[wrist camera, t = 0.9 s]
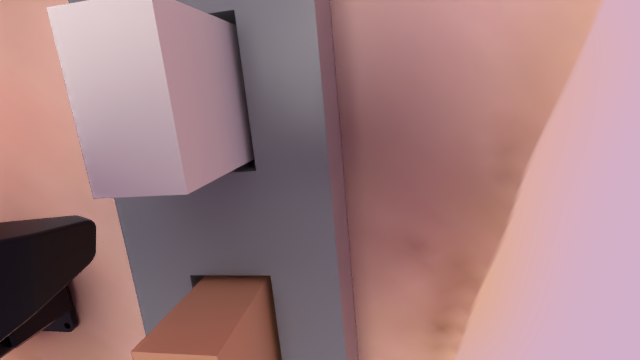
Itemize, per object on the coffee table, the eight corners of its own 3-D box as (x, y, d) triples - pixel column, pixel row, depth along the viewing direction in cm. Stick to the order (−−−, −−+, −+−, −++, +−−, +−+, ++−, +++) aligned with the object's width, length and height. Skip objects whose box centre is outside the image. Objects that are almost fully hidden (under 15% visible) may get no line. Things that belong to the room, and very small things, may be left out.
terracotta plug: (240, 340, 23) (161, 477, 15) (226, 253, 22) (131, 351, 14) (294, 342, 22) (241, 486, 14) (282, 252, 21) (217, 356, 13)
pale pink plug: (210, 154, 20) (93, 198, 12) (192, 41, 19) (46, 7, 11) (269, 150, 20) (187, 194, 12) (255, 32, 18) (150, -11, 10)
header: (203, 365, 26) (165, 421, 21) (130, -6, 20) (61, -31, 16) (359, 374, 23) (353, 438, 19) (326, -38, 18) (307, -78, 14)
